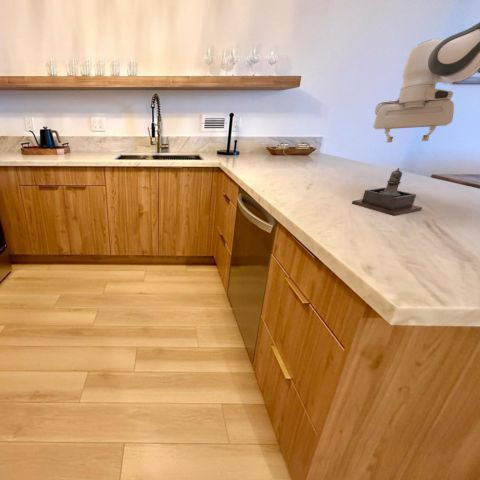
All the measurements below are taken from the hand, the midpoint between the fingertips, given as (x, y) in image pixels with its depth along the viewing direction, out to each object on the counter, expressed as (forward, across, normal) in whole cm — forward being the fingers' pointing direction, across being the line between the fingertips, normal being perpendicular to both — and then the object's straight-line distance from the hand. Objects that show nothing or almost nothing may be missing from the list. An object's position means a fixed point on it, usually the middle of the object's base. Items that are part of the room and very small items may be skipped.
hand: (406, 141), depth 98 cm
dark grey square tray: (+22, -3, -9) cm, 24 cm away
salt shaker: (+21, -3, -9) cm, 23 cm away
